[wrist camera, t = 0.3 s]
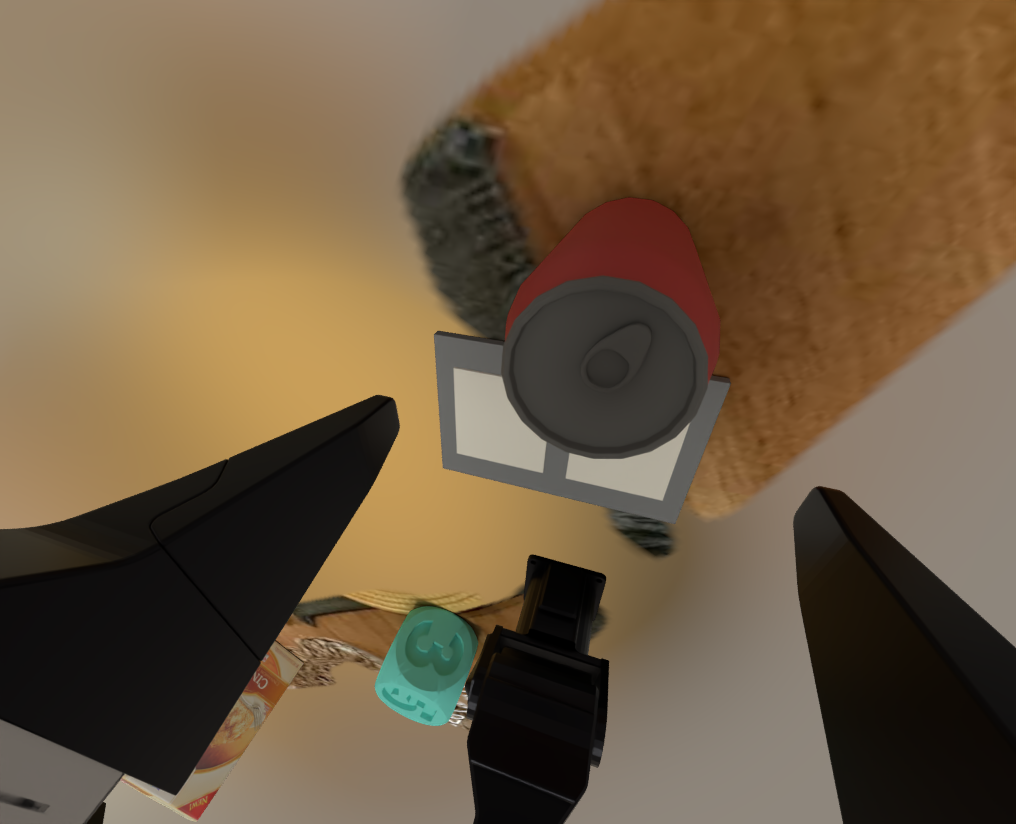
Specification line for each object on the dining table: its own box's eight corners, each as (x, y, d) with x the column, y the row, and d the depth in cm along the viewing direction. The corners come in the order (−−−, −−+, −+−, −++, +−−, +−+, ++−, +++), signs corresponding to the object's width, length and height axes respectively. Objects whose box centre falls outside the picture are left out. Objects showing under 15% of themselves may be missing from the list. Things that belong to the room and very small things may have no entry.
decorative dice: (468, 656, 49) (440, 735, 42) (407, 627, 49) (370, 700, 43) (485, 626, 44) (456, 710, 38) (417, 594, 45) (377, 671, 38)
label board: (674, 517, 28) (675, 526, 28) (446, 463, 32) (441, 469, 32) (729, 378, 22) (731, 385, 22) (437, 330, 26) (432, 335, 25)
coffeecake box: (305, 663, 66) (198, 824, 51) (284, 665, 70) (178, 816, 55) (232, 605, 62) (90, 762, 47) (214, 611, 66) (77, 758, 50)
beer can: (728, 252, 19) (799, 368, 10) (631, 353, 23) (613, 507, 14) (615, 163, 19) (571, 193, 9) (536, 282, 23) (446, 390, 13)
